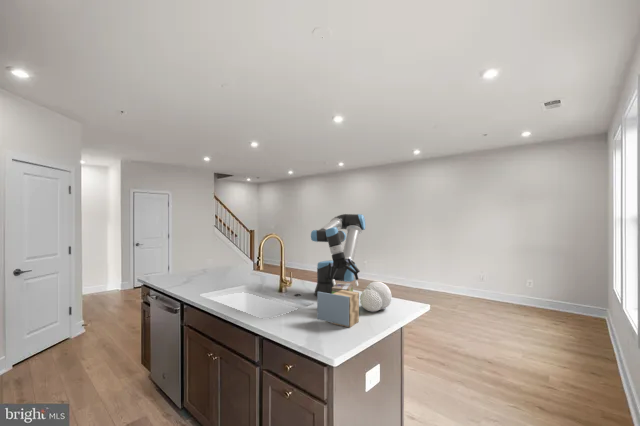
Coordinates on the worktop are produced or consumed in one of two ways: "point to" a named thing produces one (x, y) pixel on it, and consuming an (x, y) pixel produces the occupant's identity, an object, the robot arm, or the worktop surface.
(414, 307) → the worktop surface
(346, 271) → the robot arm
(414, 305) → the worktop surface
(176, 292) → the worktop surface
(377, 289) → the cauliflower
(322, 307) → the flap
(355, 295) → the carton
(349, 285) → the tea box
